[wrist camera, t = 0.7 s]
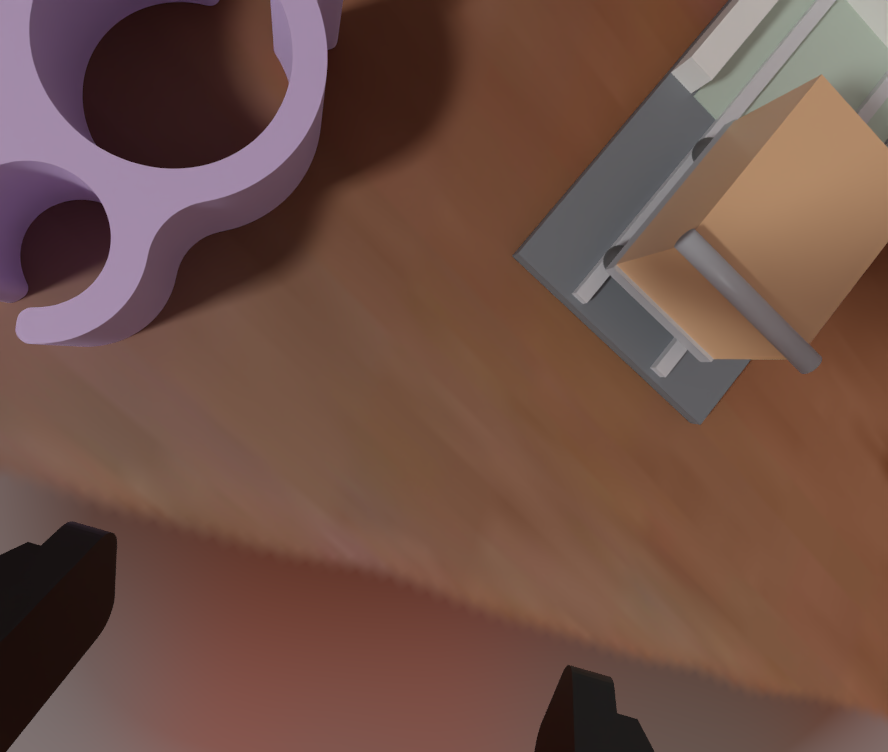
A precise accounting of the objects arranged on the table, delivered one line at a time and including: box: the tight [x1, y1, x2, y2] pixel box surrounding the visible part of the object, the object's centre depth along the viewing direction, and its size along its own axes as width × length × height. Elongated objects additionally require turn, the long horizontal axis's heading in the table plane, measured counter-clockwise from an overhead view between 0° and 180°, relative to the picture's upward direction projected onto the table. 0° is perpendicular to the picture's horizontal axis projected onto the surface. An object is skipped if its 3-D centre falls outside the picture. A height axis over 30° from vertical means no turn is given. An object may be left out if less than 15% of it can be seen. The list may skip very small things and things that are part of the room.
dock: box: [512, 0, 888, 425], centre depth 36 cm, size 14×25×9 cm, turn 139°
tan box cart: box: [603, 74, 888, 374], centre depth 33 cm, size 8×10×10 cm
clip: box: [0, 0, 343, 347], centre depth 31 cm, size 20×12×7 cm, turn 147°
